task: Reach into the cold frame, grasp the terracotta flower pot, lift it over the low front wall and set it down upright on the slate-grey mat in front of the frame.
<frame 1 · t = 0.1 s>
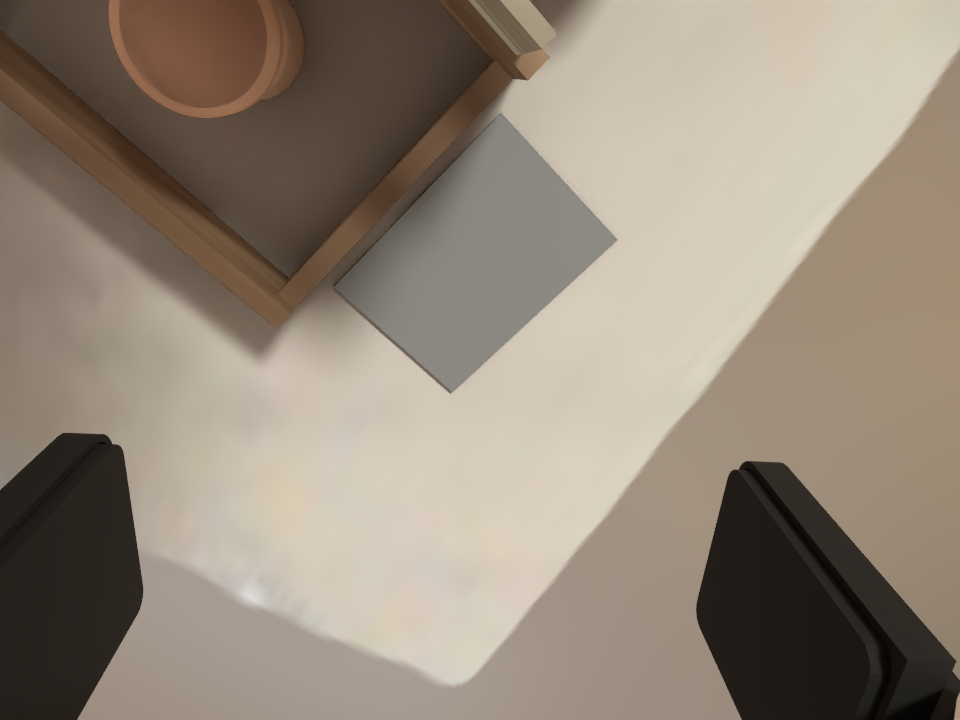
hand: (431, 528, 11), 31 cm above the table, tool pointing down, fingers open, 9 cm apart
cold frame: (245, 39, 36), on the table
slate mat: (474, 262, 41), on the table
terracotta pot: (246, 39, 36), resting in cold frame
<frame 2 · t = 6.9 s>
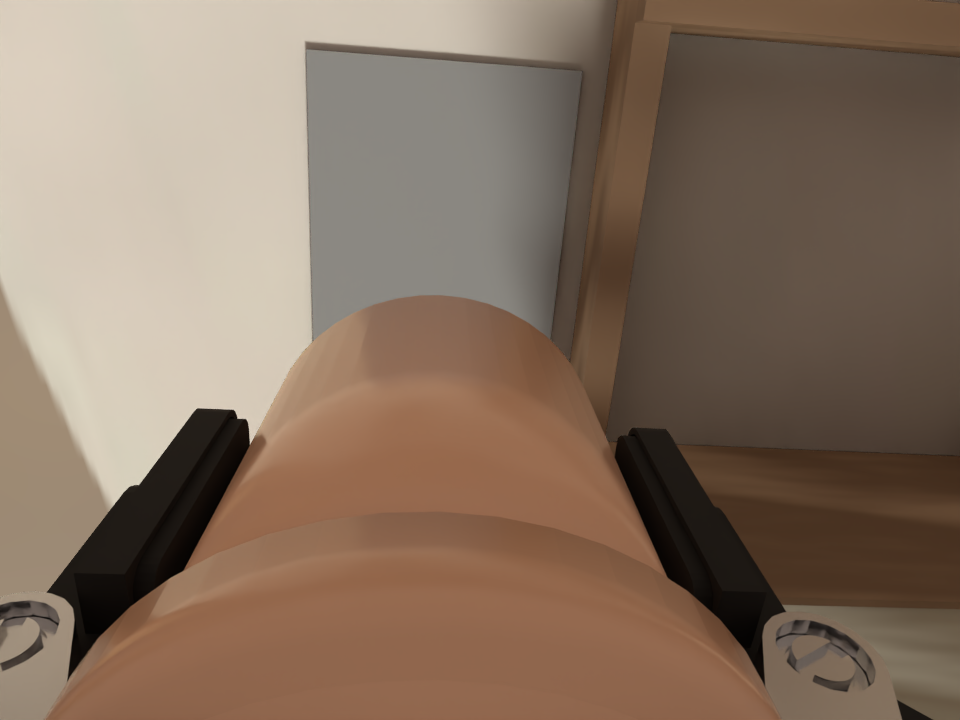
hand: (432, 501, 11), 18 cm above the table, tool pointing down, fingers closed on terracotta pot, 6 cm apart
cold frame: (841, 273, 29), on the table
slate mat: (437, 249, 27), on the table
terracotta pot: (434, 448, 13), point 16 cm above the table, touching gripper
when the fingers open (3 cm above the table, at t = 10.5 s): terracotta pot drops 1 cm, resting on slate mat.
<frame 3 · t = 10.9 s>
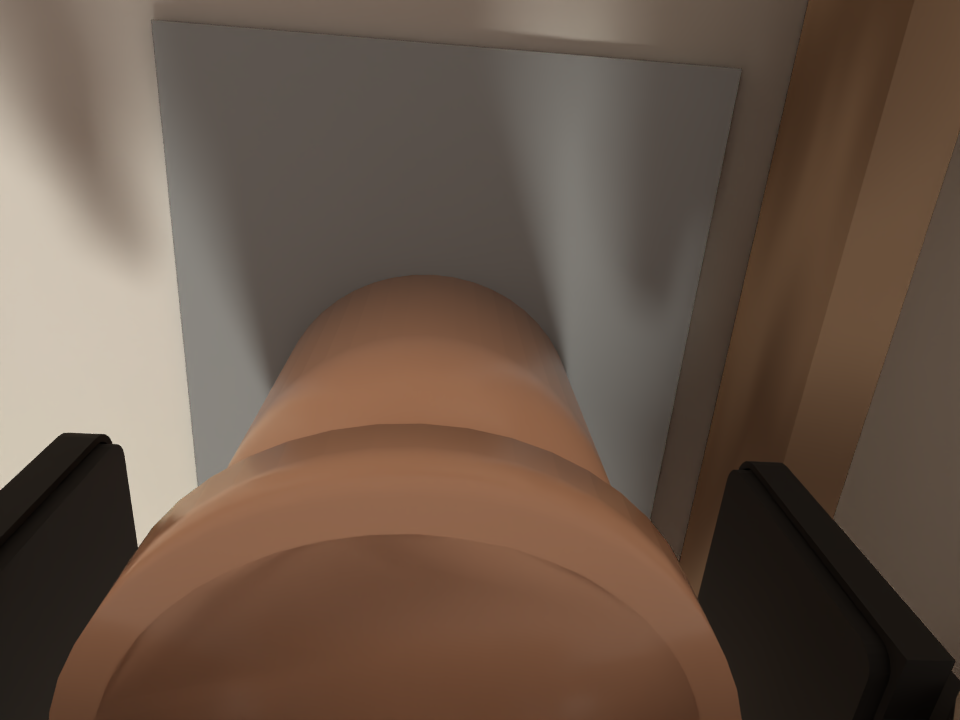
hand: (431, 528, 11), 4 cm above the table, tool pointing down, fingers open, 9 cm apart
slate mat: (435, 409, 14), on the table
terracotta pot: (426, 414, 14), resting on slate mat
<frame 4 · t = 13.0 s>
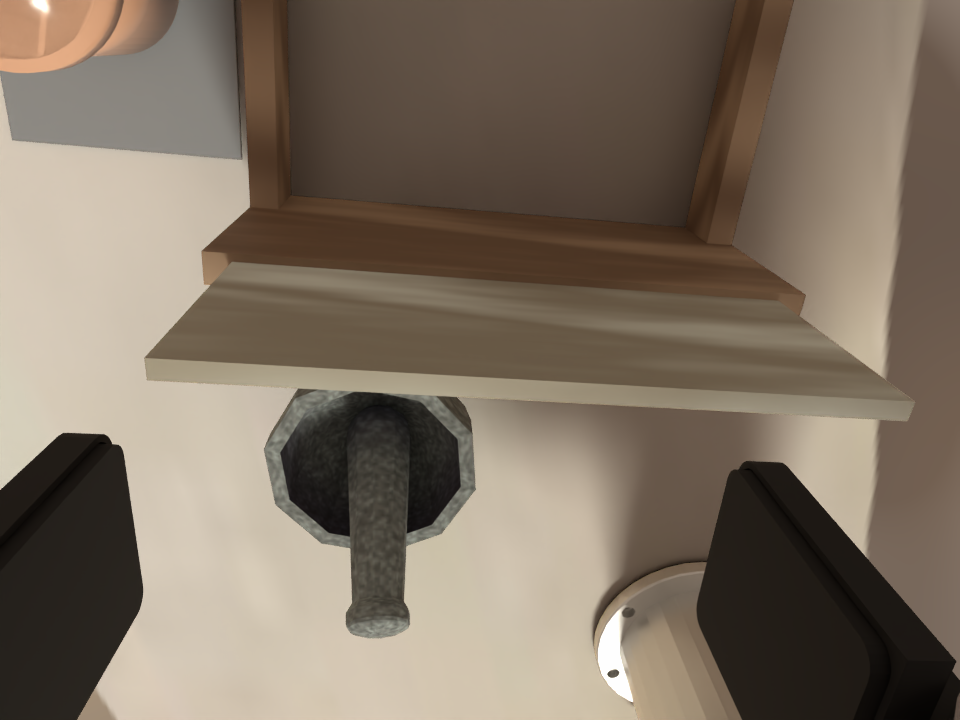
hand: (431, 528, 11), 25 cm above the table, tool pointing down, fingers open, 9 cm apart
mortar and pestle: (383, 408, 38), on the table
cold frame: (513, 20, 30), on the table
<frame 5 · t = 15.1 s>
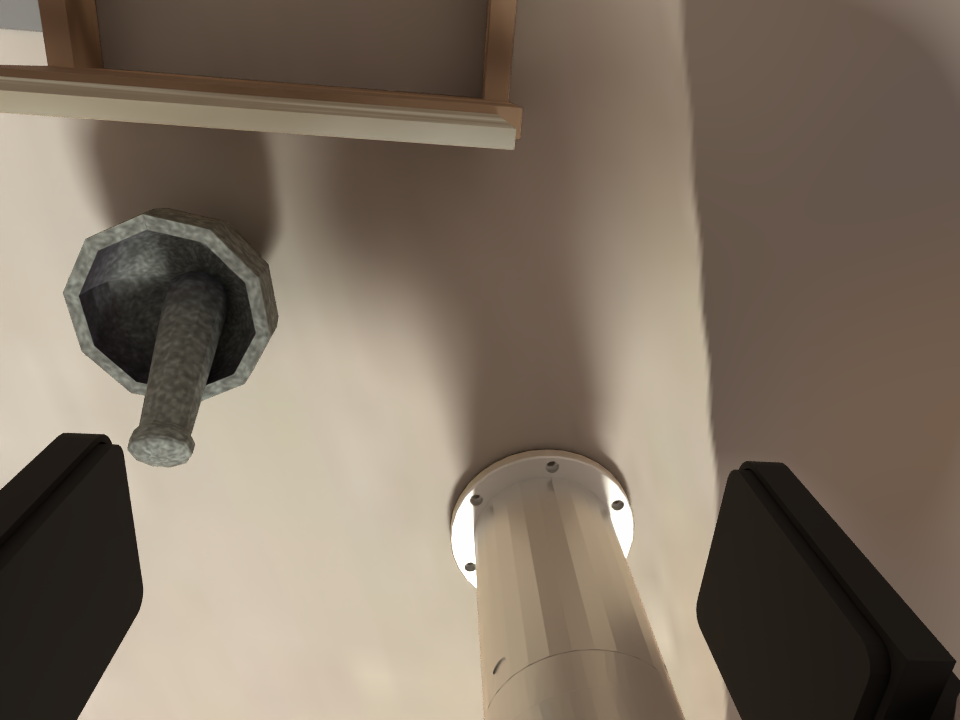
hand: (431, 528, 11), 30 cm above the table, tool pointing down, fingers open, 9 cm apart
mortar and pestle: (216, 286, 40), on the table
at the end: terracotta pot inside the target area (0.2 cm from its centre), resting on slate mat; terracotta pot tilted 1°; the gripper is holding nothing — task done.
